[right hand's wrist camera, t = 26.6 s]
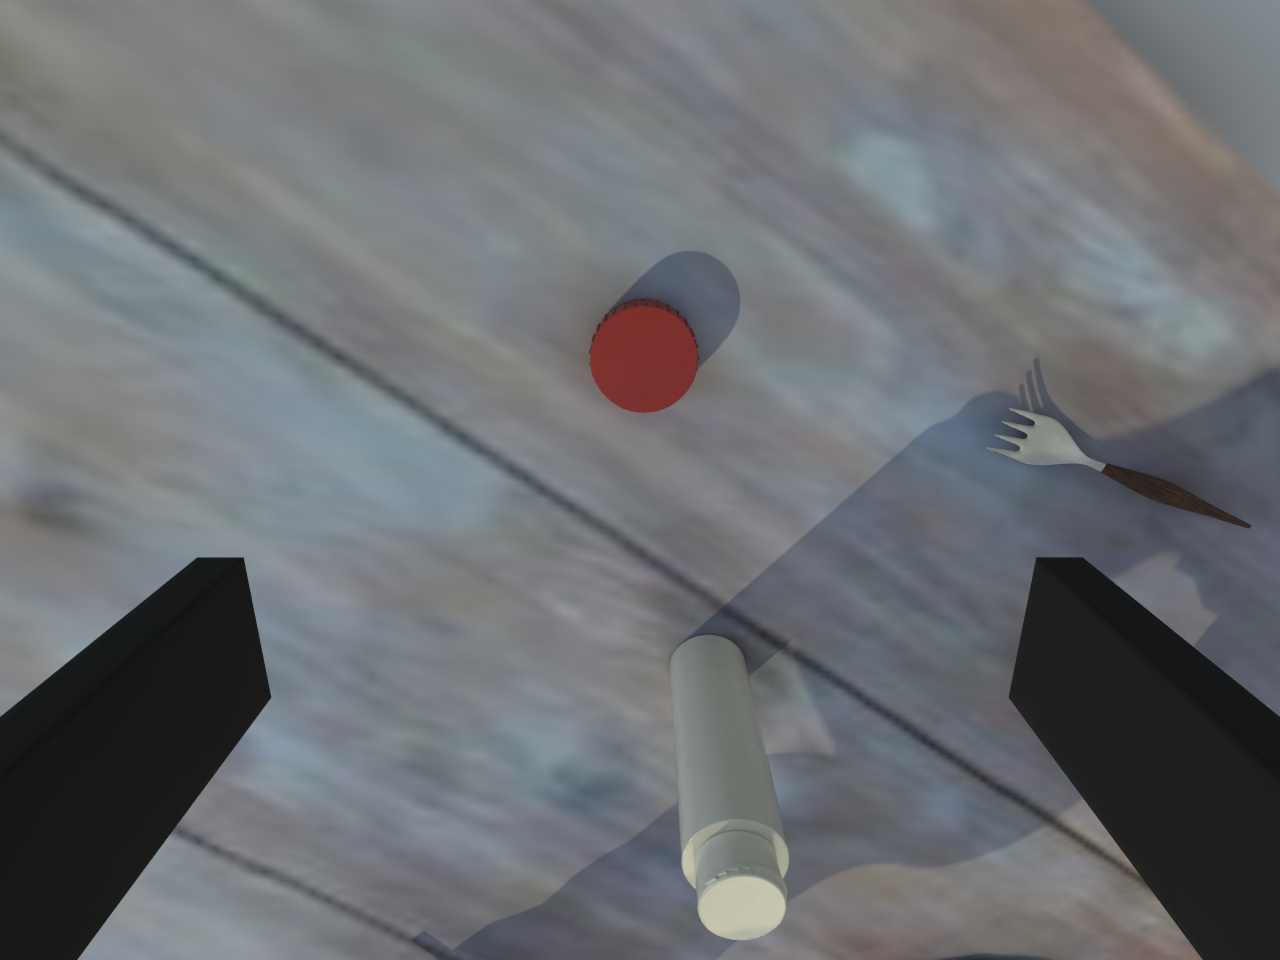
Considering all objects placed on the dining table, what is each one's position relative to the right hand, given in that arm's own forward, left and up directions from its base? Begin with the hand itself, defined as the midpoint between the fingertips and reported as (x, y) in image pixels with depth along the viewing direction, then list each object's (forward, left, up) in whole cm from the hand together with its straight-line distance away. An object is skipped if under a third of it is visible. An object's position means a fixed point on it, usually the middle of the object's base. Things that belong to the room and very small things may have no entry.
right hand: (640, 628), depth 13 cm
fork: (+3, +25, -26) cm, 37 cm away
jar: (+18, +6, -26) cm, 32 cm away
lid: (0, 0, -24) cm, 24 cm away
